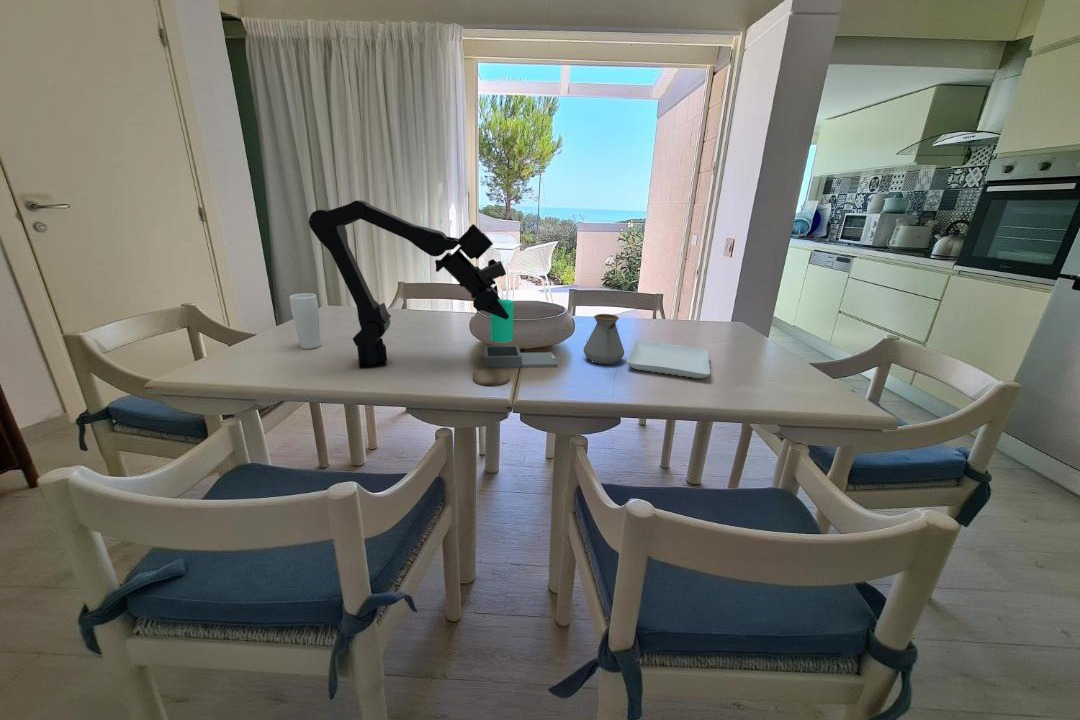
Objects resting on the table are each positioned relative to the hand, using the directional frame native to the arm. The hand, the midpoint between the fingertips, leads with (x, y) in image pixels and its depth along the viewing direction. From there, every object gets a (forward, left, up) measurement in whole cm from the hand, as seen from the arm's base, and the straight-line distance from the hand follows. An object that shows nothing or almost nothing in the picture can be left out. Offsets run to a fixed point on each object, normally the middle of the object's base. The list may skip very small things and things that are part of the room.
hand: (507, 315), depth 114 cm
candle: (-1, 0, -7) cm, 7 cm away
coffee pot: (+24, -12, -13) cm, 30 cm away
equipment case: (+4, 0, -13) cm, 14 cm away
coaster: (-8, -10, -13) cm, 18 cm away
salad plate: (+42, -17, -14) cm, 47 cm away
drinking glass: (-49, +31, -13) cm, 60 cm away
